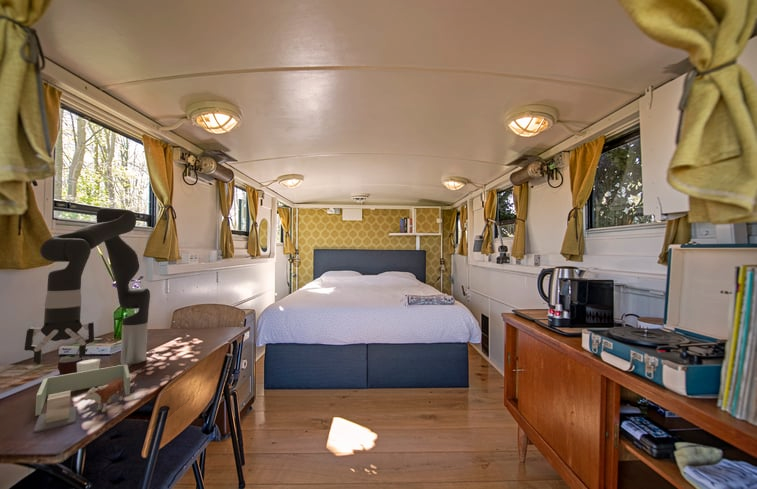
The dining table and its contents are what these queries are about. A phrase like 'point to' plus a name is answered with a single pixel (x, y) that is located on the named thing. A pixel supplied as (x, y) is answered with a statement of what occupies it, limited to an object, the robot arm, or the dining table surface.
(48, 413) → the cream block
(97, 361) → the cream cup
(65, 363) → the mate gourd
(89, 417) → the dining table surface
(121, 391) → the bull figurine
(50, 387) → the green u-shaped frame
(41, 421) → the grey rectangular plate
